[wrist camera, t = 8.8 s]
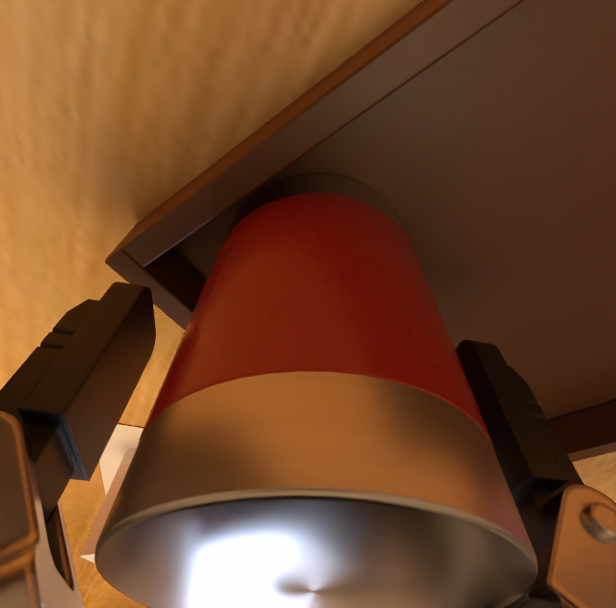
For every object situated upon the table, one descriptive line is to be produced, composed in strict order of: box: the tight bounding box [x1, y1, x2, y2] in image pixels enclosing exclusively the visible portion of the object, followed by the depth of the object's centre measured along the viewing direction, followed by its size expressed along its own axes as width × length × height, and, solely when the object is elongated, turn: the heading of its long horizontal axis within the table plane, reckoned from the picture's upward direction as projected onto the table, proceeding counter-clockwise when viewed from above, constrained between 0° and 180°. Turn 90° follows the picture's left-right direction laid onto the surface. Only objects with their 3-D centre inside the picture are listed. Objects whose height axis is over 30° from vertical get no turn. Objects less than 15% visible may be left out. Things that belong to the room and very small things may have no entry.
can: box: [95, 174, 538, 608], centre depth 9 cm, size 6×6×9 cm
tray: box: [105, 0, 616, 462], centre depth 12 cm, size 20×19×2 cm
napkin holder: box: [80, 424, 144, 563], centre depth 23 cm, size 15×11×6 cm
